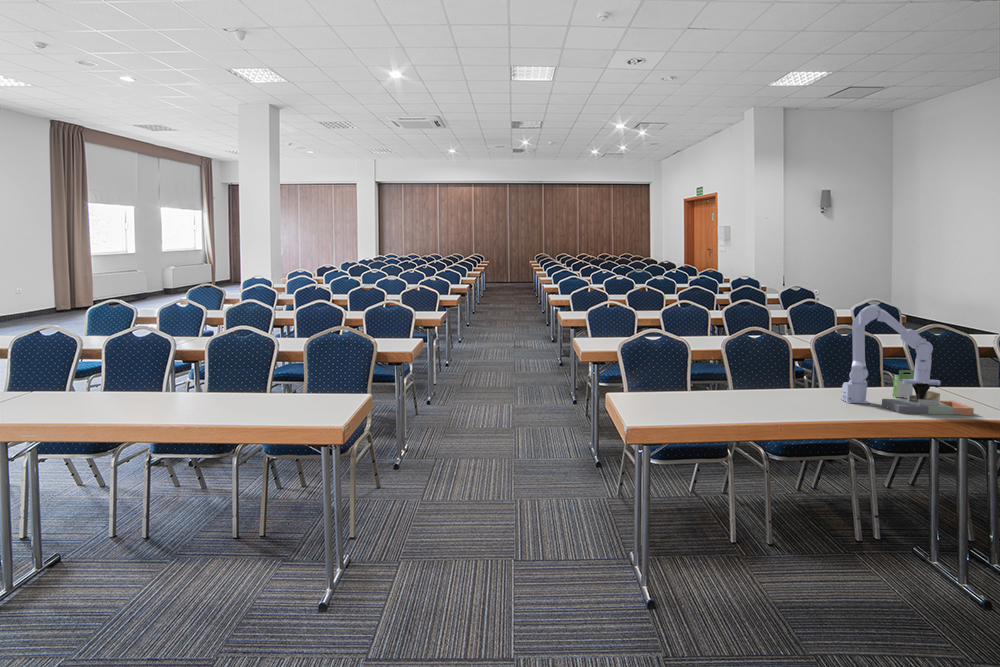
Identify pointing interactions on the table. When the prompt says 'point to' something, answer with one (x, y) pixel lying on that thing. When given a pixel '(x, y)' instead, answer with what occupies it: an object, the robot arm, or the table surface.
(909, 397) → the corridor walls
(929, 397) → the maple block
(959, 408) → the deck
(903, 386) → the ink box
